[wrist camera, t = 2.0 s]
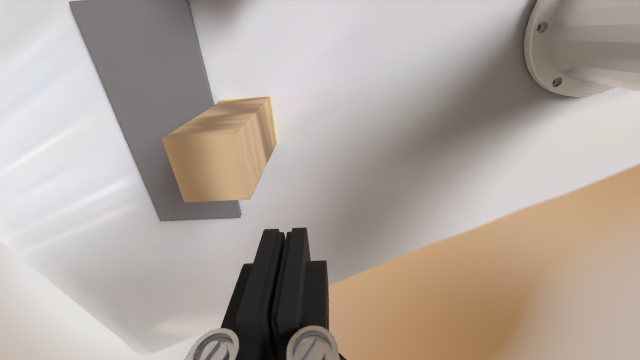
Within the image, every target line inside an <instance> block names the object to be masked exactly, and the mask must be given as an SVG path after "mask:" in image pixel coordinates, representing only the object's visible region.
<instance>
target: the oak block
mask: <svg viewBox="0 0 640 360" xmlns="http://www.w3.org/2000/svg"><path fill="white" fill-rule="evenodd" d="M162 141H163V144H164V146H165V149H166V152H167V155H168V158H169V160H170V163H171V166H172V169H173V172H174V175H175V177H176V180H177V183H178V186H179V189H180V191H181V194H182V197H183V200H184V202H205V201H225V200H245V199H251V197H252V195H253V192H254V190H255V188H256V186H257V184H258V182H259V180H260V177H261V175H262V173H263V171H264V169H265V167H266V165H267V162H268V160H269V158H270V156H271V154H272V152H273V149H274V147H275V145H276V143H277V141H276V134H275V128H274V121H273V115H272V108H271V102H270V97H261V98H247V99H232V100H222V101H221V102H219V103H217V104H216V105H214V106H213V107H211V108H209V109H208V110H206V111H205V112H203V113H202V114H200V115H198V116H197V117H195V118H194V119H192V120H191V121H189V122H187V123H186V124H184V125H183V126H181V127H179V128H178V129H176V130H175V131H173V132H172V133H170V134H168V135H167V136H165V137H164V138H162Z"/></svg>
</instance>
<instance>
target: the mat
mask: <svg viewBox="0 0 640 360" xmlns="http://www.w3.org/2000/svg"><path fill="white" fill-rule="evenodd" d="M69 4H70V7H71V9H72V12H73V14H74V16H75V19H76V21H77V23H78V26H79V28H80V31H81V33H82V35H83V38H84V40H85V43H86V45H87V47H88V50H89V52H90V54H91V57H92V59H93V62H94V64H95V66H96V69H97V71H98V73H99V76H100V78H101V81H102V83H103V85H104V88H105V90H106V93H107V95H108V97H109V100H110V102H111V104H112V107H113V109H114V112H115V114H116V116H117V119H118V121H119V124H120V126H121V128H122V131H123V133H124V135H125V138H126V140H127V143H128V145H129V147H130V150H131V152H132V155H133V157H134V159H135V162H136V164H137V166H138V169H139V171H140V174H141V176H142V178H143V181H144V183H145V186H146V188H147V190H148V193H149V195H150V197H151V200H152V202H153V205H154V207H155V209H156V212H157V214H158V216H159V219H160V221H176V220H198V219H220V218H240V217H241V211H240V207H239V203H238V200H225V201H205V202H184V200H183V197H182V194H181V191H180V189H179V186H178V183H177V180H176V177H175V175H174V172H173V169H172V166H171V163H170V160H169V158H168V155H167V152H166V149H165V146H164V144H163V141H162V138H164V137H165V136H167V135H168V134H170V133H172V132H173V131H175V130H176V129H178V128H179V127H181V126H183V125H184V124H186V123H187V122H189V121H191V120H192V119H194V118H195V117H197V116H198V115H200V114H202V113H203V112H205V111H206V110H208V109H209V108H211V107H213V106H214V102H213V98H212V94H211V90H210V86H209V82H208V78H207V74H206V70H205V66H204V62H203V58H202V54H201V50H200V46H199V42H198V38H197V34H196V30H195V26H194V22H193V18H192V14H191V10H190V5H189V1H188V0H81V1H70V2H69Z"/></svg>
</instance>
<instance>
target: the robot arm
mask: <svg viewBox="0 0 640 360" xmlns="http://www.w3.org/2000/svg"><path fill="white" fill-rule="evenodd" d="M537 27H538V28H537ZM524 56H525V62H526V65H527V68H528V71H529V73H530V74H531V76H532V77H533V79H534V80H535V81H536V82H537V83H538V84H539V85H540V86H541V87H543V88H544V89H546V90H548V91H550V92H553V93H557V94H560V95H564V96H572V97H580V96H590V95H594V94H598V93H602V92H604V91H607V90H609V89H612V88H615V87H620V88H625V89H630V90H636V91H640V0H537V2H536V4H535V6H534V9H533V11H532V13H531V15H530V18H529V21H528V25H527V28H526V32H525V40H524ZM328 296H329V295H328V273H327V262H326V261H311V260H310V252H309V243H308V235H307V228H293V229H292V232H287V236H286V241H285V235H284V232H279V229H265V230H264V231H263V234H262V237H261V241H260V244H259V247H258V250H257V253H256V256H255V260H254V263H252V264H244V265H243V267H242V270H241V272H240V275H239V278H238V281H237V283H236V286H235V289H234V292H233V295H232V297H231V300H230V303H229V306H228V309H227V311H226V314H225V317H224V320H223V323H222V325H221V328H219V329H215V330H212V331H209V332H208V333H206V334H204V335H203V336H202V337H201V338H200V339H198V340H197V341H196V343H195V344H194V345H193V347H192V348H191V349H190V351H189V353H188V355H187V357H186V358H185V360H346V359H345V358H344V357H343V356H342V355H341V354H340V353H339V352H338V348H337V343H336V341H335V338H334V336H333V335H332V334H331V333H330V332H329V297H328Z"/></svg>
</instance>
